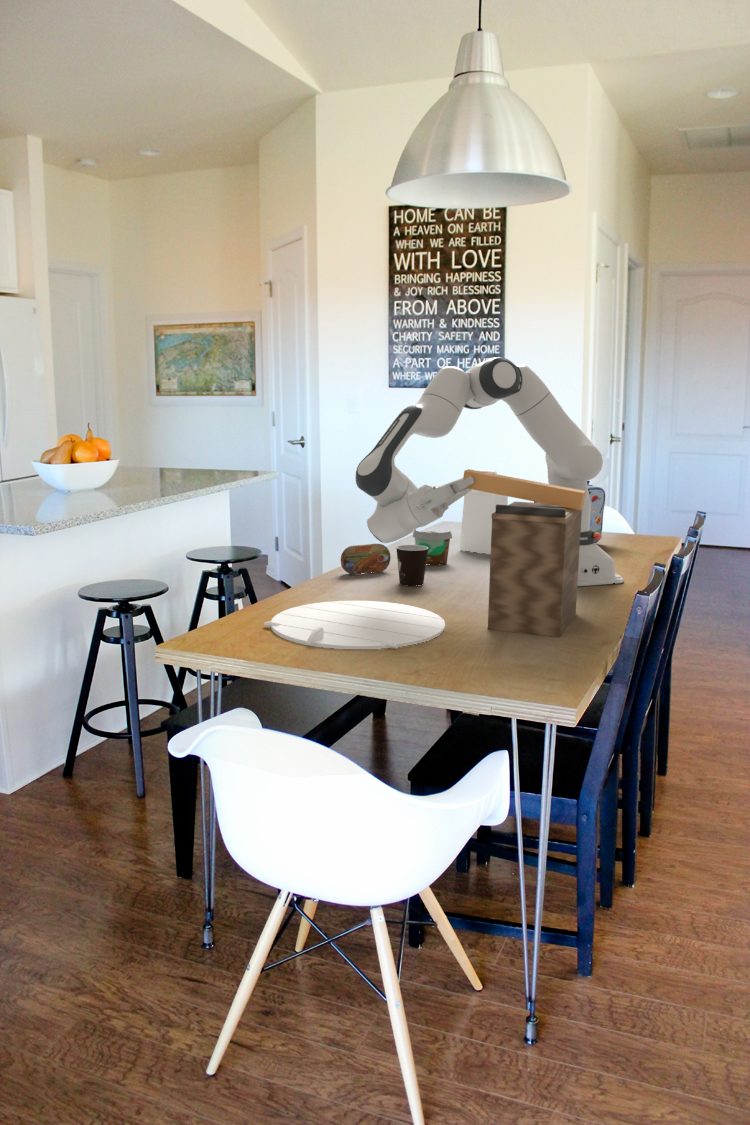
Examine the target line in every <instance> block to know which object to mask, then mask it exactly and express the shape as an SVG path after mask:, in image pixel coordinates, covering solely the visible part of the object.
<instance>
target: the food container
mask: <svg viewBox="0 0 750 1125" xmlns="http://www.w3.org/2000/svg"><path fill="white" fill-rule="evenodd" d="M416 529H417V528H416ZM416 529H415V530H414V531H413V532H412V538H414V543H415V544H414V545H421V546H426V547H428V554H427V561H426V564H430V565H429V566H440V565H439V564H444V565H446V564H445V563H447V564H448V558H449V557H448V556H449V549H450V542H451V539H453V535H452V531H450V530H449V531H446V532H436V531H419V530H416Z"/></svg>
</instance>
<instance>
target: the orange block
mask: <svg viewBox="0 0 750 1125" xmlns="http://www.w3.org/2000/svg"><path fill="white" fill-rule="evenodd" d="M470 476H473V477H474V479H475V483H473V484H471V485H469V486H468V487H466V488H467V489H472V490H477V491H483V492H488V493H493V494H498V495H503V496H508V498H514V499H519V500H520V499H521V500H525V501H530V502H533V503H534V502H539V503H545V504H550V505H555V506H560V507H565V508H570V509H576V510H581V509H582V508H583V504H584V499H585V494H586V491H583V490H578V489H572V488H567V487H562V486H556V485H551V484H549V483H544V482H540V481H535V480H529V479H524V478H523V479H522V478H518V477H512V476H507V475H503V474H498V473H497V474H492V473H487V472H481V471H478V470H475V469H466V470H464V471H463V476H462V478H463V480H464V479H466V478H468V477H470Z"/></svg>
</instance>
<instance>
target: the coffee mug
mask: <svg viewBox="0 0 750 1125" xmlns="http://www.w3.org/2000/svg"><path fill="white" fill-rule="evenodd" d="M395 549H396V556H397V557H396V560H397V569H398V578H399V585H400V584H402V585H401V586H403V585H408V586H407V587H419V586H418V585H421V586H423V585H424V581H425V574H426V568H427V565H426V561H427V554H428V547H426V546H421V545H415V544H404V545H403V544H401V545H397V546H396V548H395ZM422 584H423V585H422ZM416 585H417V586H416Z"/></svg>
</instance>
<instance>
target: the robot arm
mask: <svg viewBox="0 0 750 1125" xmlns="http://www.w3.org/2000/svg"><path fill="white" fill-rule="evenodd" d="M500 400H501V401H503V402H505V403H506V404H507V405H508V406H509V408H510V410H511V411H512V412H513V414H514V415H515V416H516V418H517V420H518V421H519V422H520V424H521V425H522V426H523V428H524V429H525V431H526V432H527V433H528V435H529V436H530V438H531V439H532V440H533V441H534V442H535V443H536V444H537V445H538V446H539V447H540V448H541V449H542V451H544V453H545V463H546V467H547V480H548V481H547V483H548V484H551V485H556V486H562V487H567V488H572V489H578V490H583V491H586V494H585V499H584V504H583V508H582V516H581V533H580V550H579V567H578V584H577V587H584V586H585V587H587V586H588V587H589V586H599V585H612V584H613V583H615V584H622V583H624V579H623V577H622V575H620V574H618V573H616V567H615V562H614V559H613V557H612V556H610V554H608V553H607V552H606V551H604V550H603V549H602V548H601V547H600V546H599V545H597V543H595V539H596V540H598V542H599V541H601V540H602V539H603V535H602V534H601V535H600V533H598V532H596V533H594V532H593V531H591V530H590V513H591V500H590V497H589V493H588V486H587V481H591V480H593V479H594V478H596V477H597V476H598V475H599V474H600V472H601V471H602V467H603V463H604V460H603V459H604V458H603V455H602V453H601V451H600V450H599V449H598V448H597V446H595V445H594V444H593V443H592V441H591V440H590V439H589V437H587V436H586V434H585V433H584V432H583V431H582V430H581V429H580V427H579V426H578V425H577V424H576V423H575V422H574V421H573V419H571V418H570V417H569V415H568V414H567V413H566V412H565V410H564V409H563V407H562V406H561V405H560V403H559V401H558V400H557V398H556V397H555V396H554V394H553V393H552V391H550V389H549V388H548V387H547V385H546V384H545V383H544V381H543V380H542V379H541V378H540V377H539V376H538V375H537V373H536V372H534V371H533V369H531V368H530V367H529V366H527V365H525V364H515V363H514V362H513V361H511V360H510V359H508V358H505V357H501V356H498V357H496V356H495V357H490V358H488V359H487V360H484V361H482V362H479V363H476V364H475V365H473V366H472V367H471V368H469V369H468V370H466V371H464V370H463V369H461V368H460V367H457V366H452V365H450V366H449V365H448V366H444V367H442V368H440V369H439V370H438V372H437V373H436V374H435V375H434V376H433V378H432V379H431V380H430V381H429V384H428V385H427V386H426V388H425V390H424V391H423V393H422V395H421V396H420V398H419V400H418V401H417V402H416V403H415V405H414V404H413V405H409V406H407V407H405V408H404V409H403V410H401V412H399V414H398V415H397V416H396V418H395V419H394V420H393V421H392V423H391V424H390V425H389V427H388V428H387V430H386V431H385V432H384V433H383V435H382V436H381V438H380V439H379V440H378V442H377V443H376V444H375V446H374V447H373V448H372V450H371V451H370V452H369V453H368V454H367V455H366V456H365V457H364V458H363V459H362V460H361V461H360V462H359V464H358V465H357V468H356V471H355V485H356V486H357V488H358V489H359V490H360V491H362V492H364V493H365V494H367V495H368V496H370V497H371V498H372V499H373V500H374V501H375V502H376V507H375V510H374V512H373V514H372V515H371V516H369V518H368V519H367V520H366V524H367V527H368V530H369V532H370V533H371V535H372V536H373V537H374V538H375V539H376V540H378V541H379V542H380V543H381V544H382V543H383V544H389V543H392V542H396V541H397V540H400V539H403V538H405V537H407V536H408V535H410V534H413V531H414V530H415V529H419V528H422V527H425V526H427V525H429V524H431V523H433V522H435V521H437V520H439V519H441V518H442V517H443V516H444V514H445V512H446V511H447V510H448V509H449V507H450V506H451V505H453V504H454V503H455V502H457V501H458V500H460V499H461V498H462V497H463V498H464V495H466V494H467V493H469V492H470V491H471V490H472V489H467V488H466V487H468V486H469V485H471V484H473V483H475V479H474V477H473V476H470V477H468V478H466V479H464V480H463V477H461V478H459V479H456V480H454V481H451V482H448V483H446V484H443V485H439V486H438V485H436V486H435V485H432V486H431V485H428V484H424V485H421V486H420V487H417V486H416V484H415V483H414V482H413V481H412V480H411V479H410V478H409V477H408V476H407V475H406V474H405V473H404V472H402V471H401V470H400V469H399V468H398V467H397V466H396V463H395V459H396V456H397V455H398V453H399V452H400V450H402V448H403V447H404V445H405V444H406V442H407V441H408V440H409V439H410V437H412V435H414V434H415V435H418V436H421V437H425V438H432V439H437V438H442V437H445V436H446V435H449V434H450V432H451V431H452V430H453V428H454V427H455V426H456V424H457V422H458V420H459V418H460V416H461V415H462V411H463V409H464V408H465V409H470V410H478V409H479V410H480V409H482V408H484V407H488V406H491V405H494V404H496V403H497V402H498V401H500Z"/></svg>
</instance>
